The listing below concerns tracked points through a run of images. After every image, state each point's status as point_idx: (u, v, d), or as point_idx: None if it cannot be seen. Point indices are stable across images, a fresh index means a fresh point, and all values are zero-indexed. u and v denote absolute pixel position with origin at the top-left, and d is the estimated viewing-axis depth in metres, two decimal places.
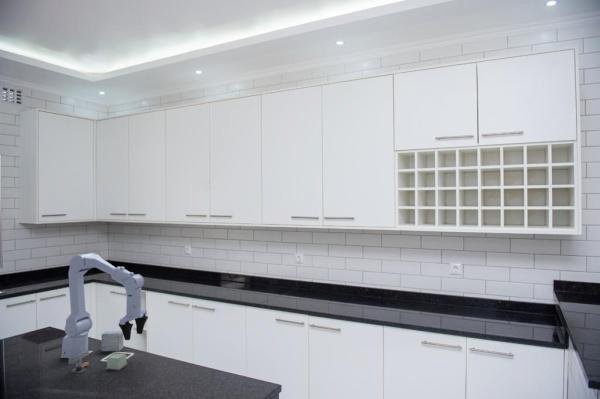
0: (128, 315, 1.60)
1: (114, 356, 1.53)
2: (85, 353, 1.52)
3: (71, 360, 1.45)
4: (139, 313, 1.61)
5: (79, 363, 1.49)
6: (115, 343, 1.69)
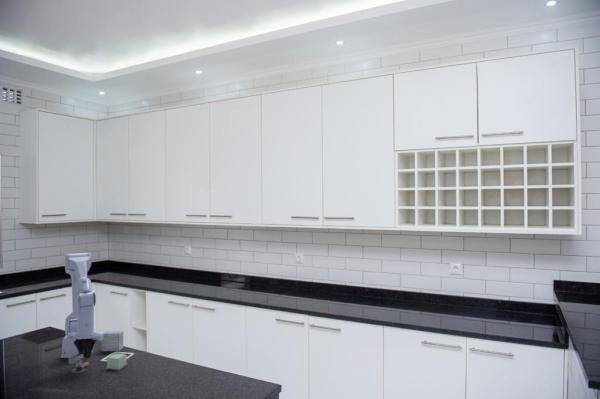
0: None
1: (114, 356, 1.53)
2: None
3: (71, 360, 1.45)
4: (80, 334, 1.50)
5: (79, 363, 1.49)
6: (115, 343, 1.69)
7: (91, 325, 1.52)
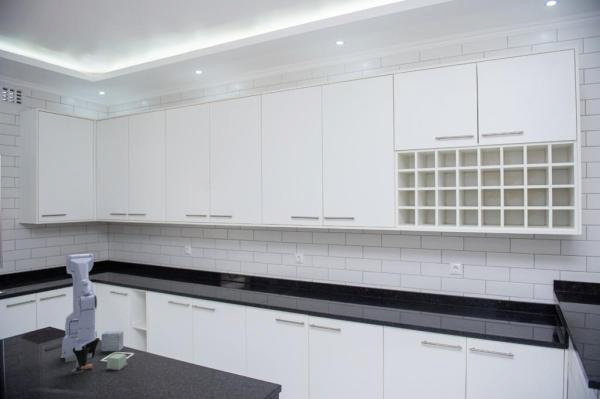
0: None
1: (114, 356, 1.53)
2: None
3: (65, 358, 1.47)
4: None
5: (77, 363, 1.49)
6: (115, 343, 1.69)
7: (82, 331, 1.46)
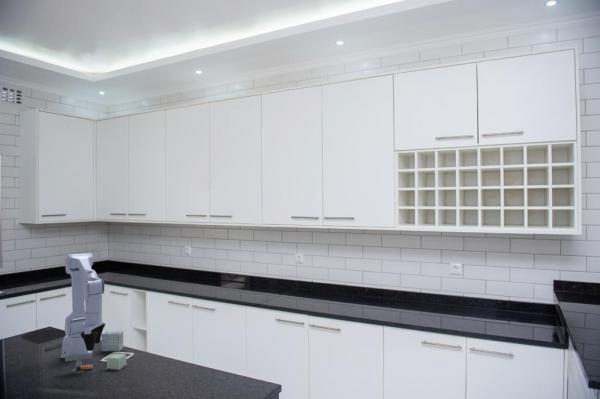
0: None
1: (114, 356, 1.53)
2: (86, 355, 1.50)
3: None
4: None
5: (76, 363, 1.49)
6: (115, 343, 1.69)
7: (90, 315, 1.47)
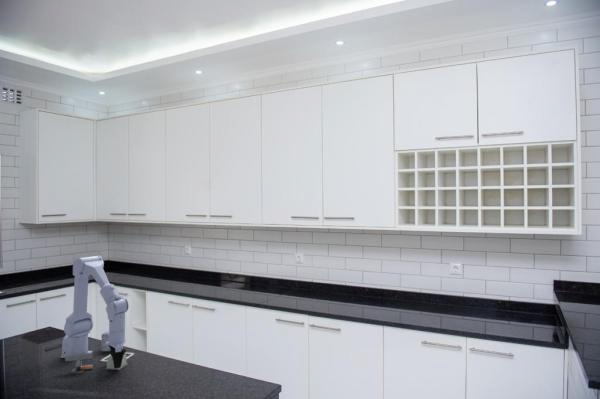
0: None
1: None
2: (86, 355, 1.50)
3: None
4: (109, 340, 1.52)
5: (76, 363, 1.49)
6: None
7: (116, 334, 1.51)
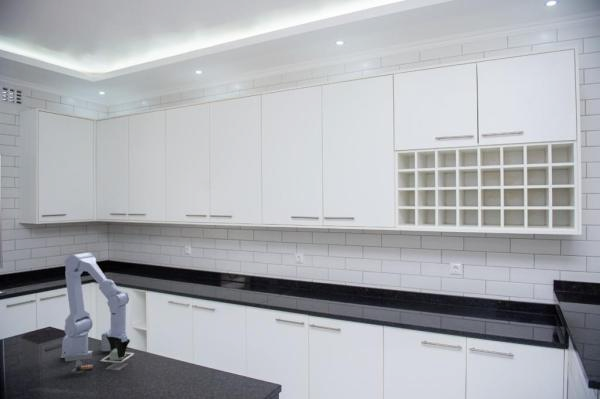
0: None
1: (115, 350, 1.62)
2: (86, 355, 1.50)
3: None
4: (111, 332, 1.60)
5: (76, 363, 1.49)
6: None
7: (119, 325, 1.60)
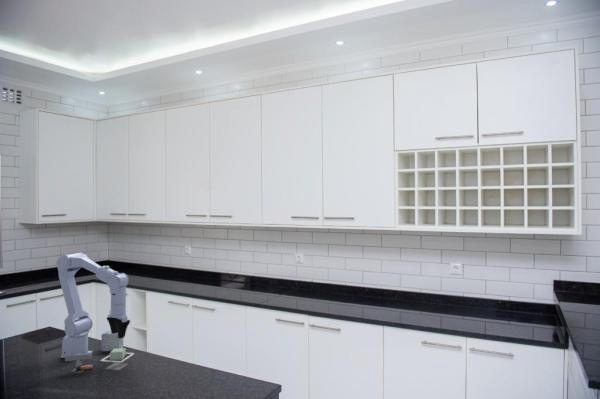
0: None
1: (115, 350, 1.62)
2: (86, 355, 1.50)
3: None
4: (111, 313, 1.60)
5: (76, 363, 1.49)
6: (115, 343, 1.69)
7: (120, 306, 1.60)
